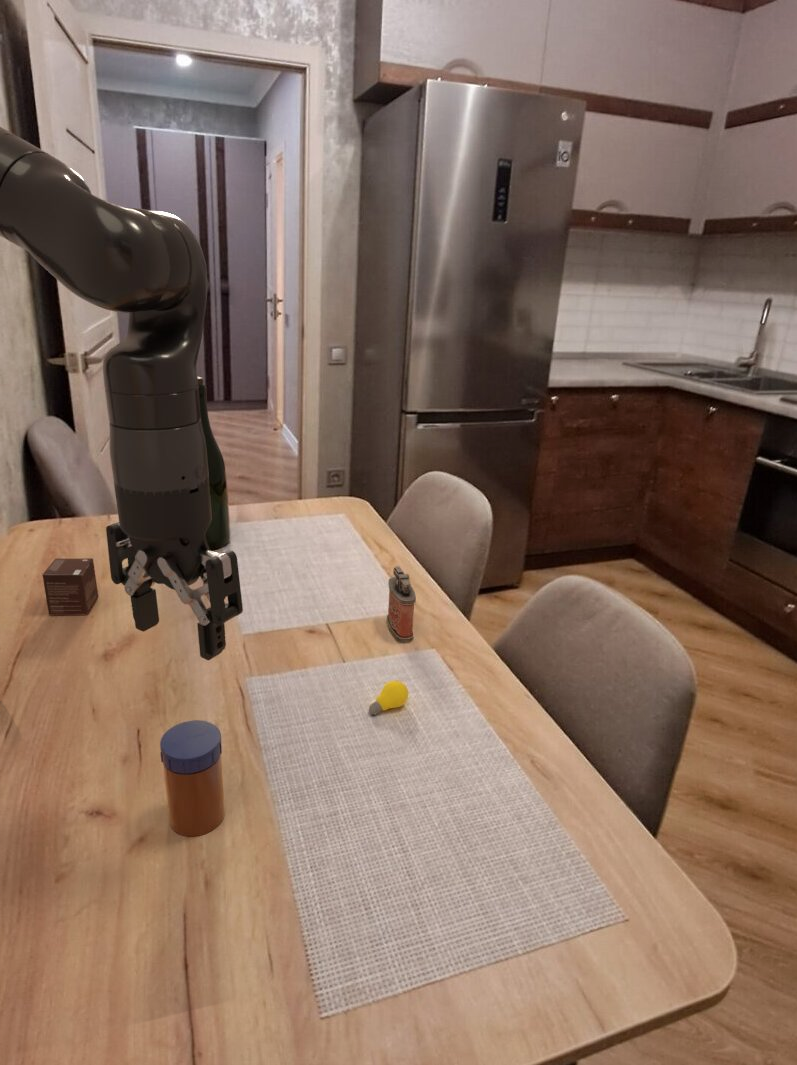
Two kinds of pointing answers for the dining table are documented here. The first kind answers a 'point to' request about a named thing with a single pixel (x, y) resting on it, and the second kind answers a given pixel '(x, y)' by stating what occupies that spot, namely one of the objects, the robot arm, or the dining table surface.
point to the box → (70, 586)
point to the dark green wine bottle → (215, 480)
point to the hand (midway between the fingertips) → (179, 640)
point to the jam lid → (191, 746)
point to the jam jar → (195, 800)
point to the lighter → (401, 606)
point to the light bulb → (390, 697)
